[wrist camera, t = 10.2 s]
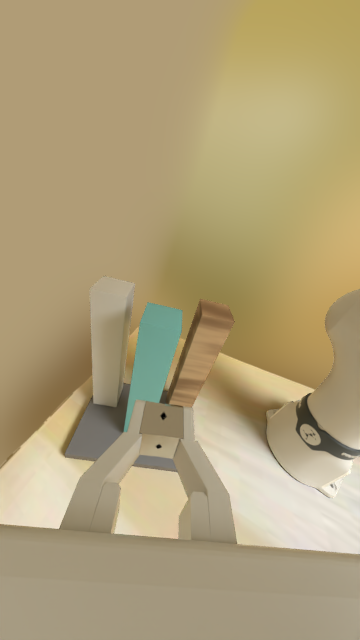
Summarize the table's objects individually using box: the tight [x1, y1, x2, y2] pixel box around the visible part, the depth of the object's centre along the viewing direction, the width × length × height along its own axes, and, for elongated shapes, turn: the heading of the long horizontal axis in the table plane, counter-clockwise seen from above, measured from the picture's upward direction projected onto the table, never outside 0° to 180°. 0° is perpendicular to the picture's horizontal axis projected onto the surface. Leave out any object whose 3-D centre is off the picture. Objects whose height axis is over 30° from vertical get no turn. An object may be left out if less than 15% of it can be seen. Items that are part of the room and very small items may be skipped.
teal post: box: [124, 303, 182, 432], centre depth 31 cm, size 5×5×28 cm
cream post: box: [90, 276, 135, 407], centre depth 35 cm, size 5×5×28 cm
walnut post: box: [166, 299, 235, 407], centre depth 36 cm, size 5×5×28 cm
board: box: [65, 383, 178, 472], centre depth 40 cm, size 16×23×2 cm
